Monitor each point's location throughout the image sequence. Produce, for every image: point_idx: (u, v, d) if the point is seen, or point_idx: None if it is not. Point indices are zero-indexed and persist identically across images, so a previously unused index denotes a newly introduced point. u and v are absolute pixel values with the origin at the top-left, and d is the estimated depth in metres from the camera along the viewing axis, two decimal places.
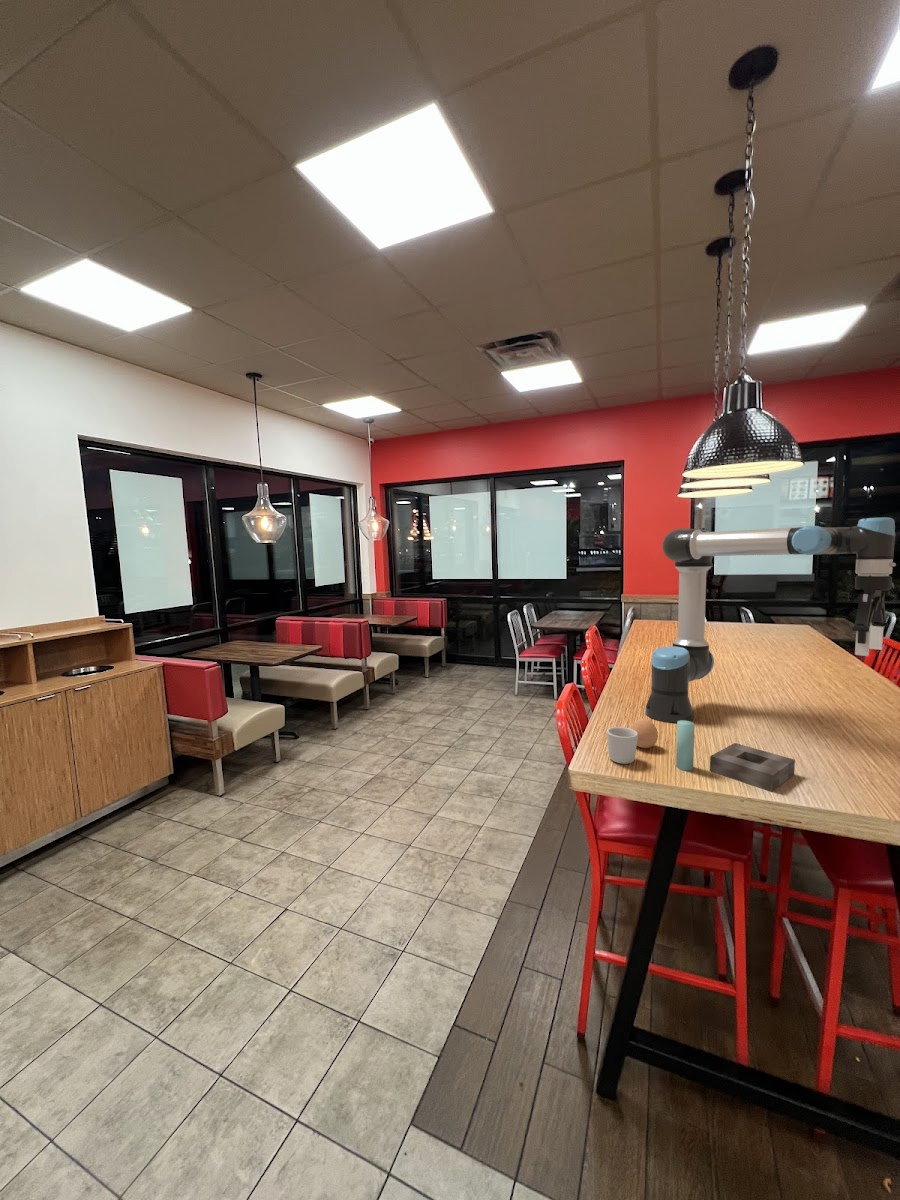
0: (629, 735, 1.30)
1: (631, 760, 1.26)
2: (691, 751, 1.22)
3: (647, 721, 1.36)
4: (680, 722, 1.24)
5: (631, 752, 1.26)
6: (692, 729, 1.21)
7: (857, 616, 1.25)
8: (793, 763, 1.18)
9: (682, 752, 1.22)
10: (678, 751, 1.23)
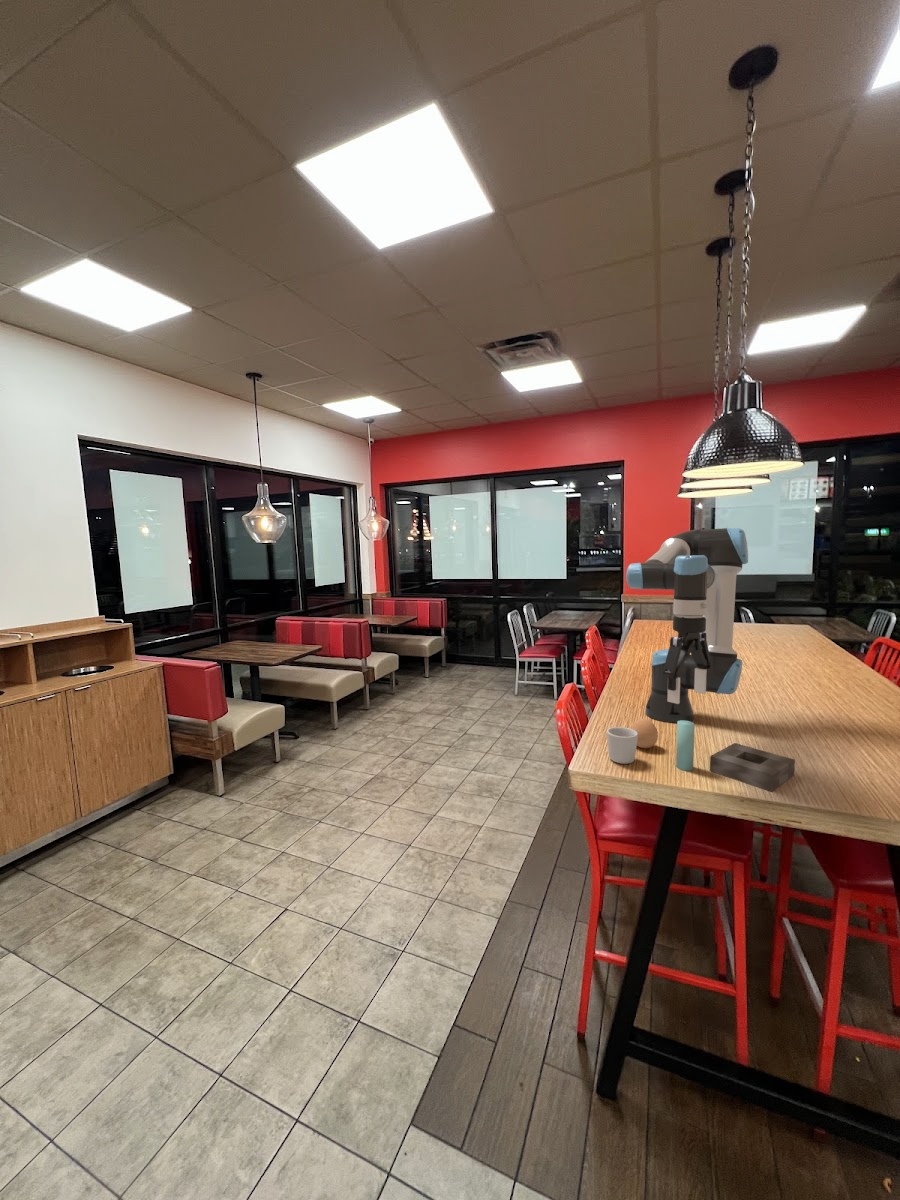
0: (629, 735, 1.30)
1: (631, 760, 1.26)
2: (691, 751, 1.22)
3: (647, 721, 1.36)
4: (680, 722, 1.24)
5: (631, 752, 1.26)
6: (692, 729, 1.21)
7: (666, 661, 1.17)
8: (793, 763, 1.18)
9: (682, 752, 1.22)
10: (678, 751, 1.23)
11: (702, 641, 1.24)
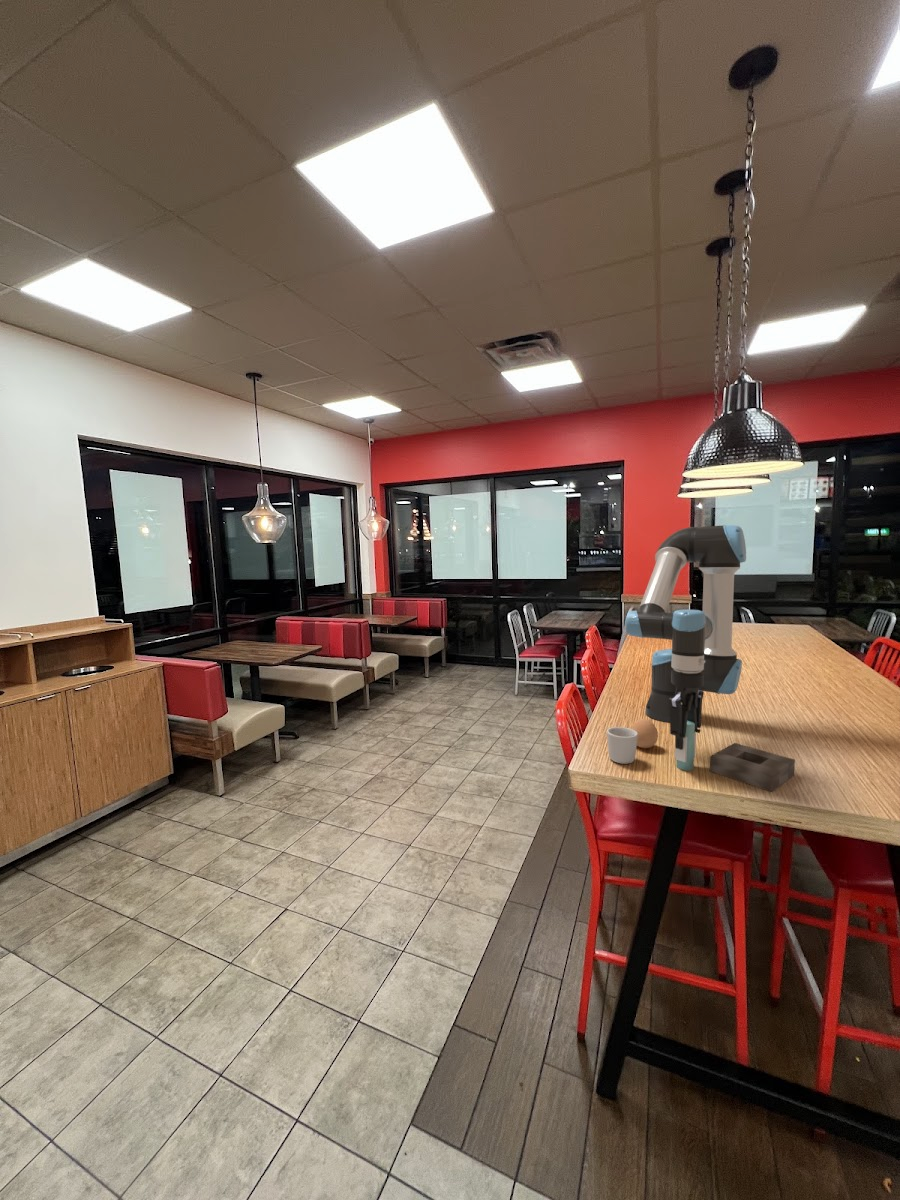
0: (629, 735, 1.30)
1: (631, 760, 1.26)
2: (692, 751, 1.22)
3: (647, 721, 1.36)
4: None
5: (631, 752, 1.26)
6: (692, 729, 1.22)
7: (671, 722, 1.20)
8: (793, 763, 1.18)
9: None
10: None
11: (698, 698, 1.25)
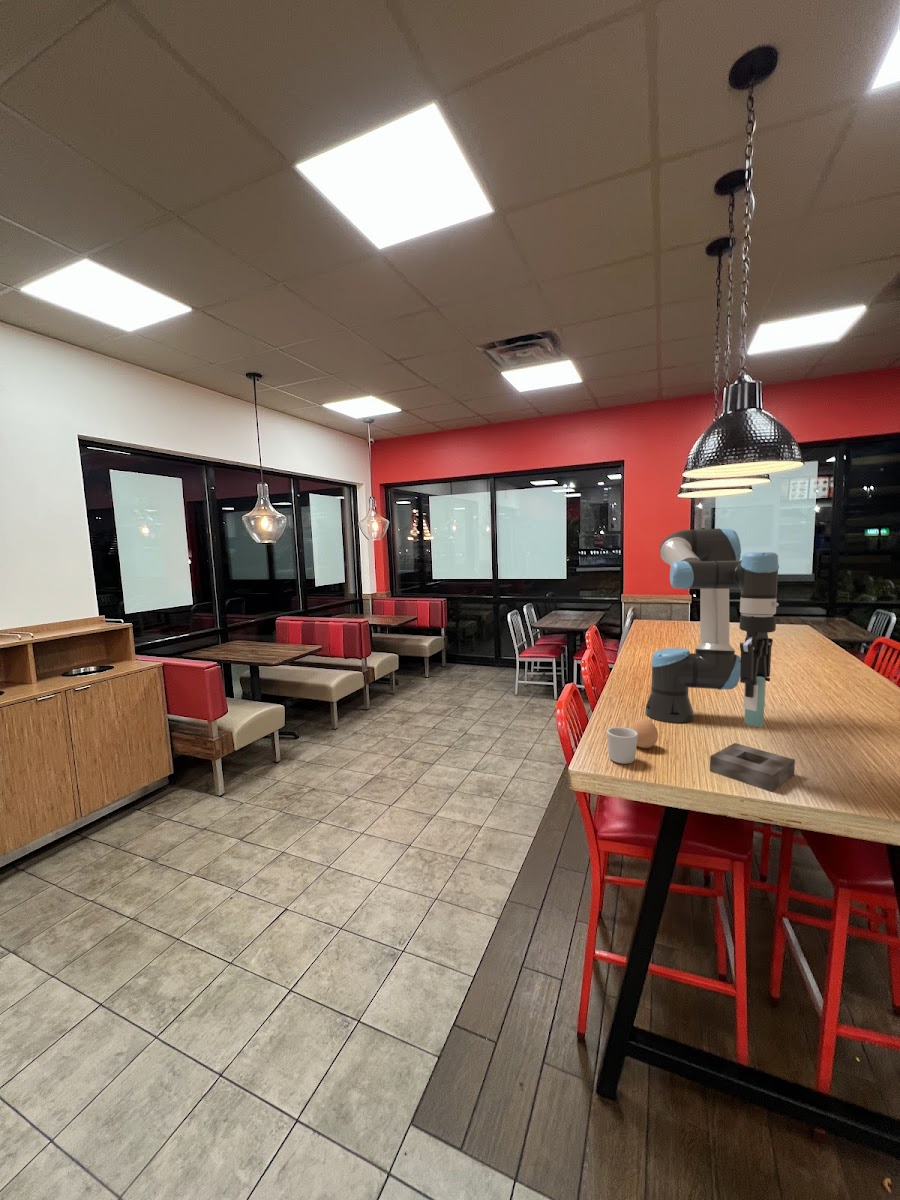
0: (629, 735, 1.30)
1: (631, 760, 1.26)
2: (762, 706, 1.17)
3: (647, 721, 1.36)
4: None
5: (631, 752, 1.26)
6: (763, 683, 1.17)
7: (741, 668, 1.15)
8: (793, 763, 1.18)
9: None
10: None
11: (767, 646, 1.20)
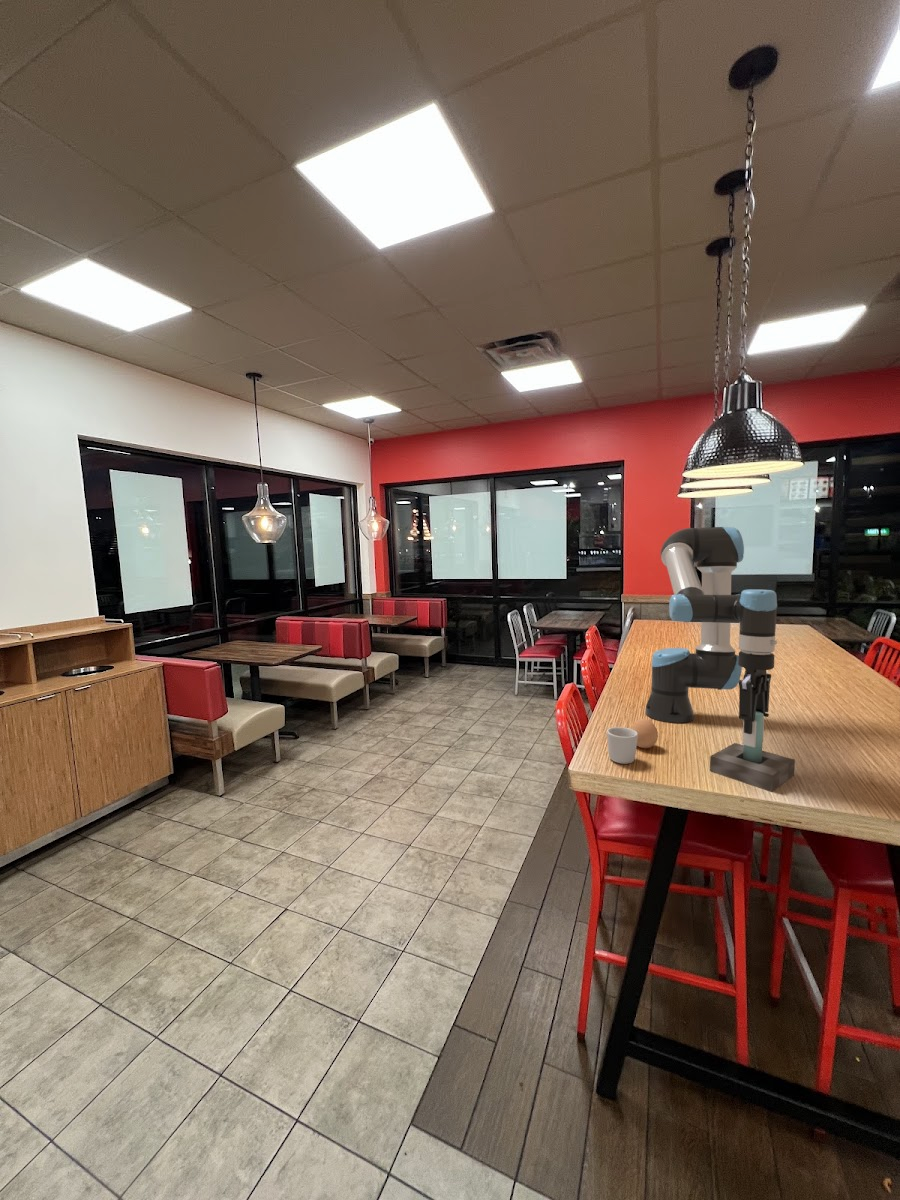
0: (629, 735, 1.30)
1: (631, 760, 1.26)
2: (761, 742, 1.18)
3: (647, 721, 1.36)
4: None
5: (631, 752, 1.26)
6: (761, 719, 1.17)
7: (740, 705, 1.16)
8: (793, 763, 1.18)
9: None
10: None
11: (766, 682, 1.21)
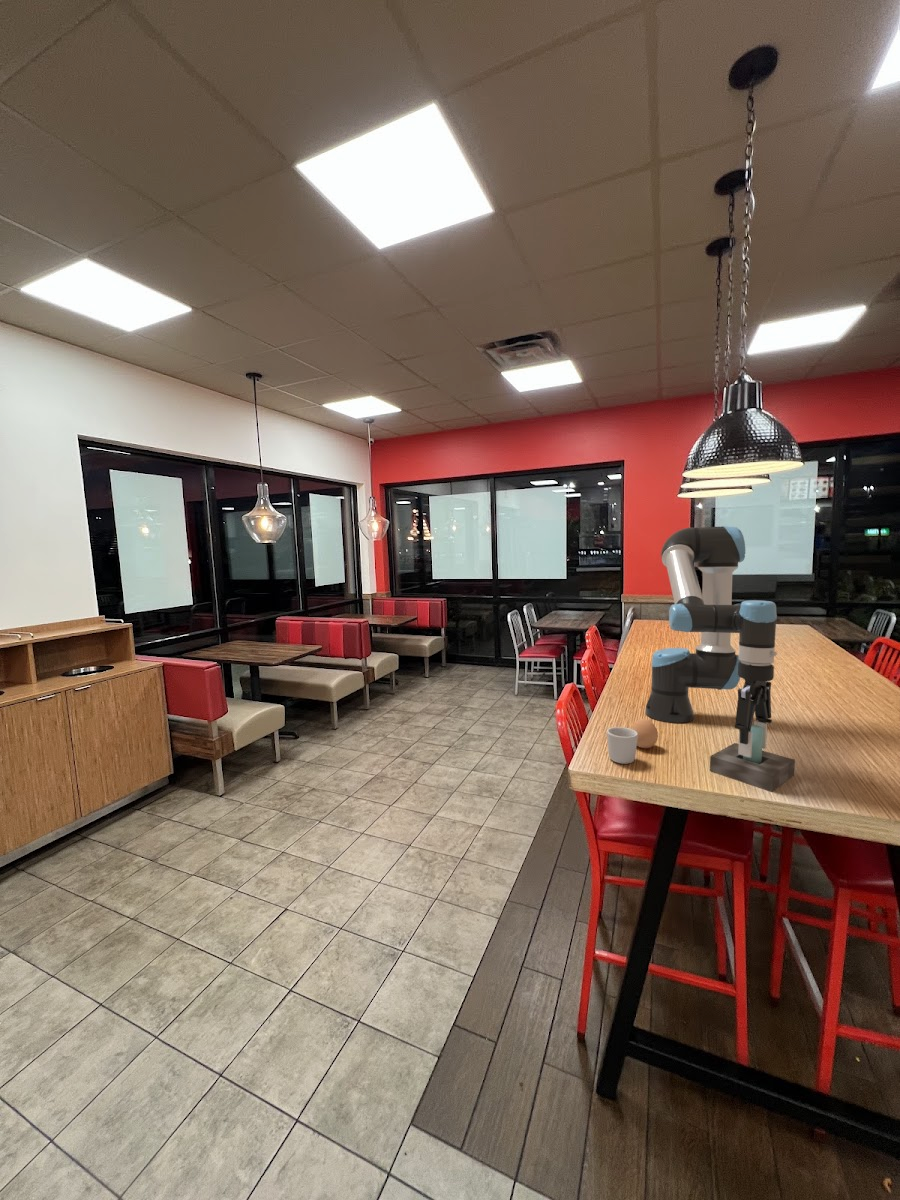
0: (629, 735, 1.30)
1: (631, 760, 1.26)
2: (760, 756, 1.18)
3: (647, 721, 1.36)
4: None
5: (631, 752, 1.26)
6: (761, 733, 1.18)
7: (737, 715, 1.16)
8: (793, 763, 1.18)
9: (749, 757, 1.19)
10: (745, 756, 1.20)
11: (766, 690, 1.21)
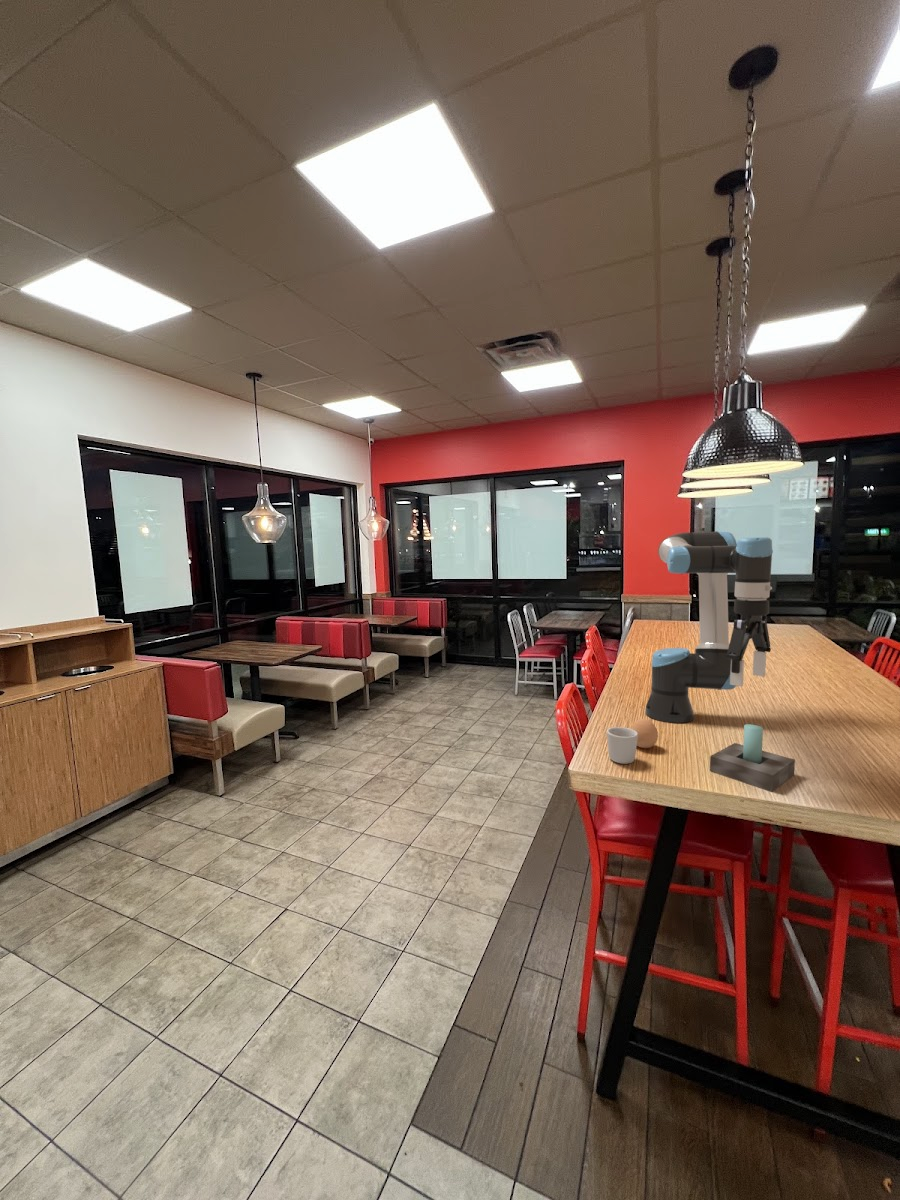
0: (629, 735, 1.30)
1: (631, 760, 1.26)
2: (760, 756, 1.18)
3: (647, 721, 1.36)
4: (747, 726, 1.20)
5: (631, 752, 1.26)
6: (761, 733, 1.18)
7: (730, 644, 1.17)
8: (793, 763, 1.18)
9: (749, 757, 1.19)
10: (745, 756, 1.20)
11: (762, 624, 1.24)
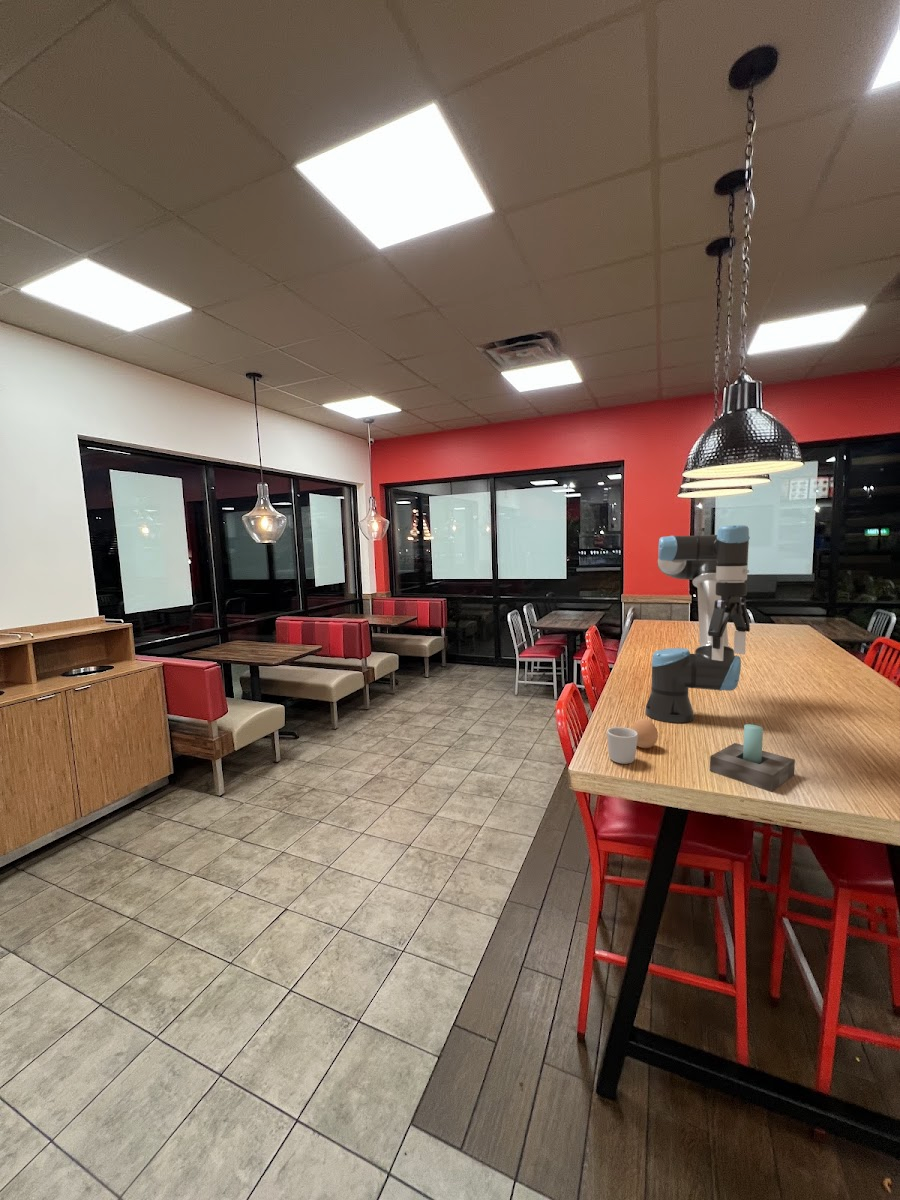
0: (629, 735, 1.30)
1: (631, 760, 1.26)
2: (760, 756, 1.18)
3: (647, 721, 1.36)
4: (747, 726, 1.20)
5: (631, 752, 1.26)
6: (761, 733, 1.18)
7: (711, 622, 1.28)
8: (793, 763, 1.18)
9: (749, 757, 1.19)
10: (745, 756, 1.20)
11: (742, 605, 1.35)
